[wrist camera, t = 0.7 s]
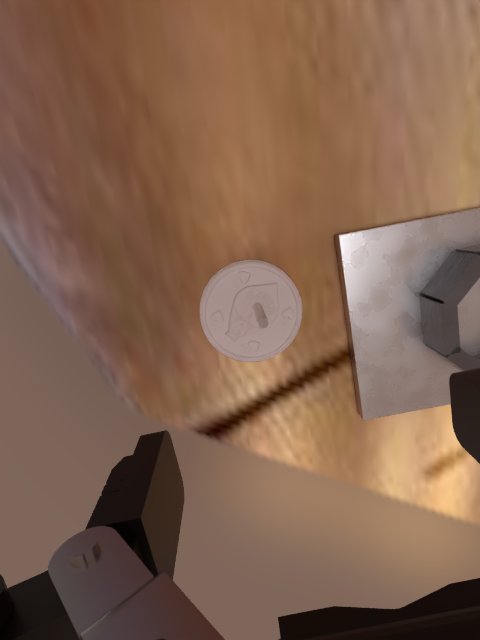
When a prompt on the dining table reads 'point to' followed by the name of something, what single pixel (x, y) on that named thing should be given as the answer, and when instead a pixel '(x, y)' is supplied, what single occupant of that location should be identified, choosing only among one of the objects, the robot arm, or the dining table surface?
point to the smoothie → (250, 311)
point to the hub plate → (411, 309)
